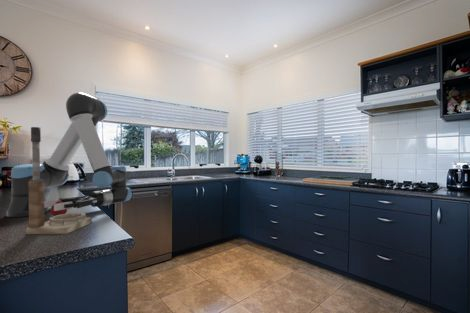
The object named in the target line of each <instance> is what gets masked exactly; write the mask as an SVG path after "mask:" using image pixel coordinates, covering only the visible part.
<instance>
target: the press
mask: <svg viewBox="0 0 470 313" xmlns="http://www.w3.org/2000/svg"><path fill="white" fill-rule="evenodd" d="M41 130H42V129H41V127H39V126H31V127H30V140H31V141H30V142H31V143H32V144H31V145H32V148H31V149H32V150H31V151H32V153H31V154H32V155H31V156H32V157H31V159H32V163H31V164H33V179H30V181H29V182H28V183H29V216H28V227H26V229H25V230H26V232H25V233H26V235H66V234H69V233H71V232H73V231H76V230H79V229H80V228H83V227H84V226H88V225H90V224H91V223H92V217H87V214H86V213H85V212H69V213H68V212H67V213H65V214H61V215H56V216H53V215H52V216H51V217H49V219H48V220H47V221H45V213H44V197H45V189H44V181H43V179H40V164H41V161H40V160H41V159H40V158H41V157H40V156H41V152H40V149H41V148H40V146H41V145H40V144H41V141H42V140H41V139H42V138H41V134H42V132H41Z"/></svg>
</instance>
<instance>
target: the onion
mask: <svg viewBox="0 0 470 313" xmlns="http://www.w3.org/2000/svg"><path fill="white" fill-rule="evenodd" d="M59 203H62V202H61V200H58V201H57V202H56V203H55V204H59ZM49 211H50V214H51V215H52V217H53V216H56V215H61V214H67V213H68V212H67V211H68V209H64V210H58V211H54V205H53V206H52V207H50V210H49Z"/></svg>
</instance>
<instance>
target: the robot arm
mask: <svg viewBox="0 0 470 313" xmlns="http://www.w3.org/2000/svg"><path fill="white" fill-rule="evenodd" d="M65 107H66V108H65V109H66V113H67V115H68V119H69V120H70V122H71V123H70V125H69V127H68V128H67V130H66V131H65V132H64V134H63V136H62V138H61V139H60V141H59V143H58V144H57V146H56V148H55V150H54V151H53V153H52V154H51V155H50V156H49V157H50V158H49V157H48V158H46V159H44V161H43V162H42V163H40V179H43V181H44V190H45V189H50V188H52V189H53V188H57V187H60V186H63V185H64V184H65V183H67V181H68V180H69V176H70V174H69V170H70V166H69V164H70V163H71V161H72V159H73V157H74V156H75V155H76V153H77V151H78V149H79V148H80V146H81V145H82V146H83V150H84V151H85V153H86V156H87V159H88V161H89V163H90V166H91V168H92V170H93V173H94V174H93V176H92V183H93V185H94V186H96V187H97V188H108V187H110V189H101V190H95V191H91V192H89V195H88V196H87V195H80V196H74V197H73V196H72V197H71V196H70V197H59V198H58V199H51V200H46V197H45V196H44V214H45V213H48V212H49V211H50V210H49V208H51V207H52V206H53V205H54V211H58V210H64V209H67V210H69V209H80V208H84V207H88V206H91V207H93V208H95V207H101V206H105V207H107V206H108V205H112V204H120V203H123V202H127V201H130V199H131V198H132V195H133V194H132V189H131V188H130V187H127V166H125V165H112V166H111V164H110V162H109V160H108V158H107V157H108V156H107V154H106V153H105V150H104V148H103V145H102V142H101V140H100V139H101V138H100V136H99V134H98V132H97V129H96V126H97V125H98V123H99V122H101V121H102V120H104V119H106V117H107V114H108V107H107V105H106V103H104V102H103V101H102V100H100V99H99V98H97V97H94V96H92V95H90V94H87V93H84V92H75V93H73V94H71V95H70V96H68V97H67V100H66V102H65ZM30 179H33V164H32V163H28V164H26V163H25V164H19V165H15V166H13V167H12V168H11V174H10V183H11V184H10V185H11V189H10V190H11V199H10V203H9V205H8V209H7V210H6V217H8V218H23V217H24V218H25V217H29V183H28V182H29V181H30ZM58 200H61V202H62V203H59V204H55V203H56V202H57V201H58Z"/></svg>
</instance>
